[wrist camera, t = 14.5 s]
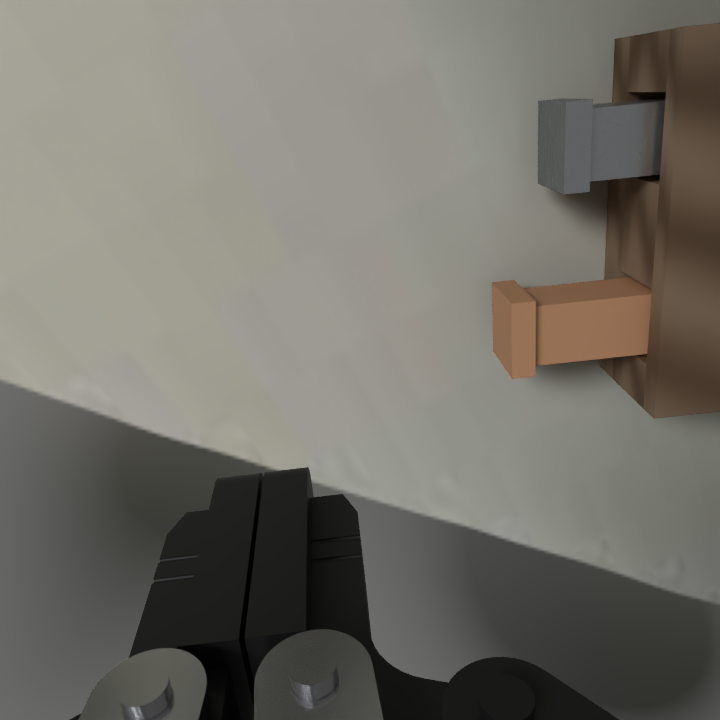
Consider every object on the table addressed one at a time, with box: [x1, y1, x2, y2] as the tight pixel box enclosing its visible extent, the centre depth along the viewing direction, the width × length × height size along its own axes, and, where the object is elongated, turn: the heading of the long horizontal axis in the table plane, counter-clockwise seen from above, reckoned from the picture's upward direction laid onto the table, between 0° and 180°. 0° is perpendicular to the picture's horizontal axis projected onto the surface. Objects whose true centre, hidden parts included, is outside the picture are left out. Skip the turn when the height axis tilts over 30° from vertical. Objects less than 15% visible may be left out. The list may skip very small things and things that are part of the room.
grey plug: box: [538, 97, 666, 194], centre depth 32 cm, size 4×13×4 cm, turn 95°
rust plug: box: [492, 277, 652, 379], centre depth 36 cm, size 4×13×4 cm, turn 95°
